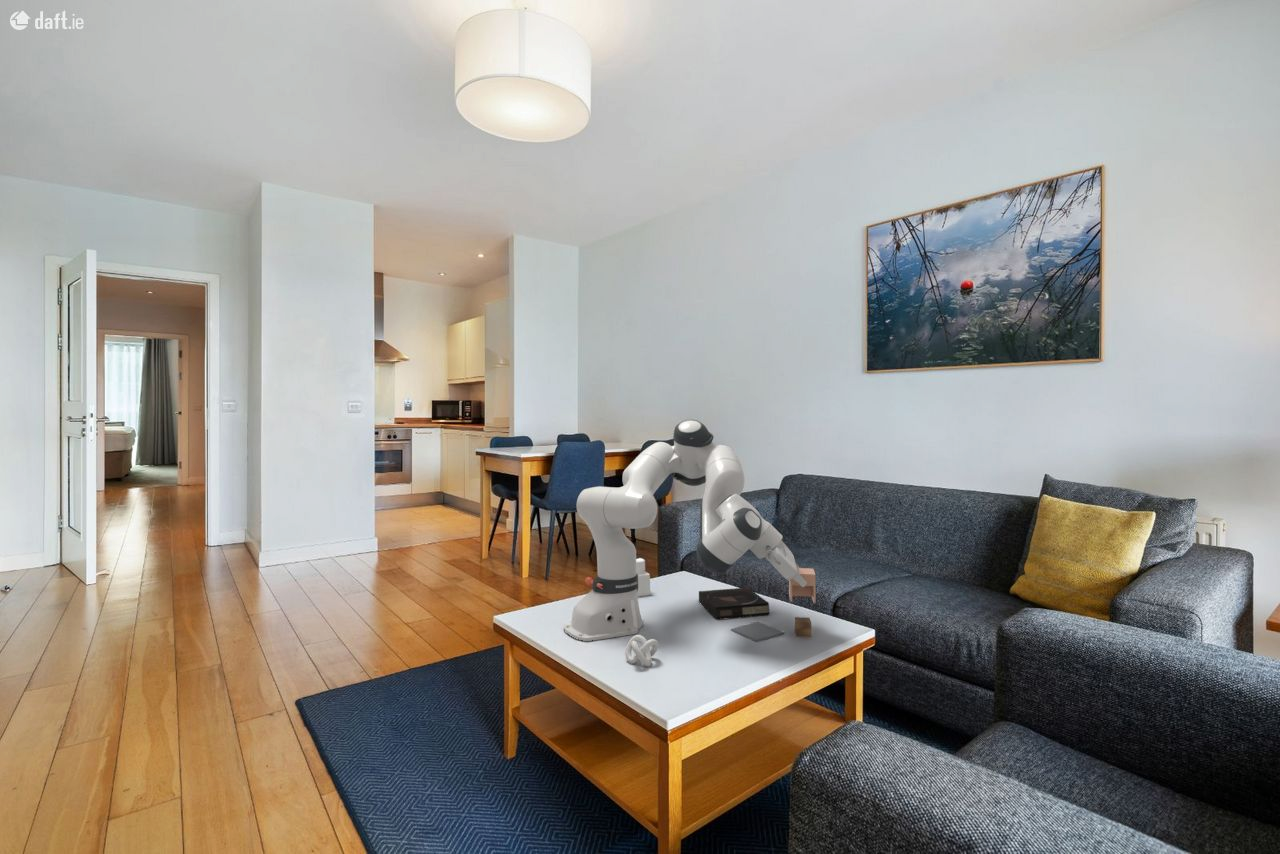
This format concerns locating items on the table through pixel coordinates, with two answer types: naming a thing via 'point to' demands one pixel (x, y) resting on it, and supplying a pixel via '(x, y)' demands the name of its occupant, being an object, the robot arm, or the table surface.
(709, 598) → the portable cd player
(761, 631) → the slate mat
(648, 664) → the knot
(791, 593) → the tan square arch
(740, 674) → the table surface
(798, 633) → the walnut block
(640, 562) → the white block with cylinder
